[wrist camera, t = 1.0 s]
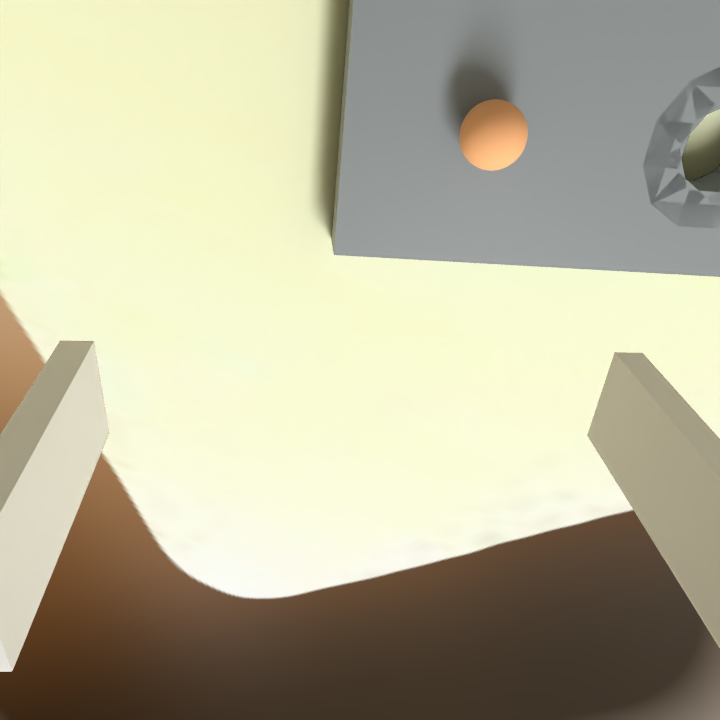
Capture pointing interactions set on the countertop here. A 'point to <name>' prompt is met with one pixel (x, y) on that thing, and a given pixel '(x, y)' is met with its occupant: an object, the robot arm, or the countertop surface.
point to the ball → (493, 134)
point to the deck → (530, 133)
